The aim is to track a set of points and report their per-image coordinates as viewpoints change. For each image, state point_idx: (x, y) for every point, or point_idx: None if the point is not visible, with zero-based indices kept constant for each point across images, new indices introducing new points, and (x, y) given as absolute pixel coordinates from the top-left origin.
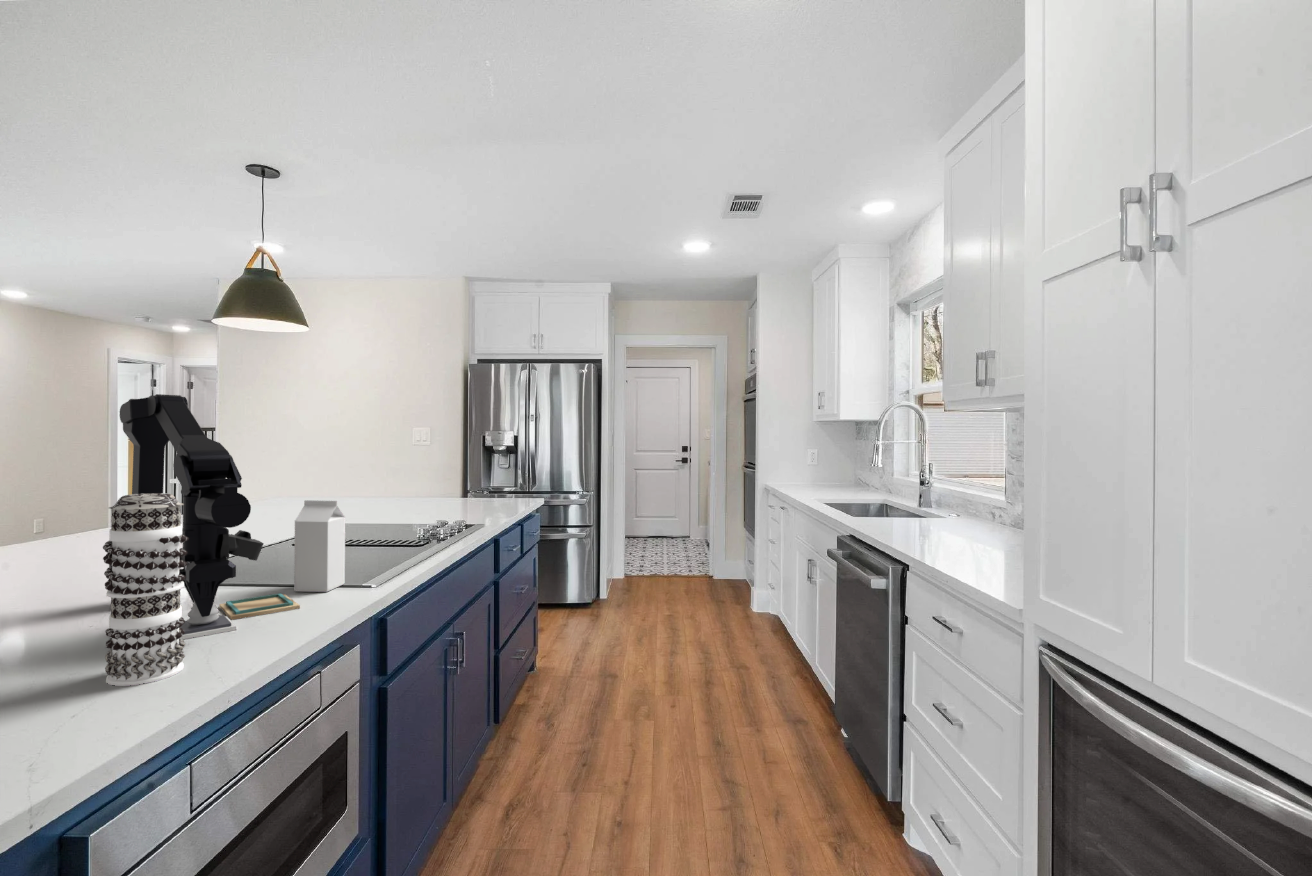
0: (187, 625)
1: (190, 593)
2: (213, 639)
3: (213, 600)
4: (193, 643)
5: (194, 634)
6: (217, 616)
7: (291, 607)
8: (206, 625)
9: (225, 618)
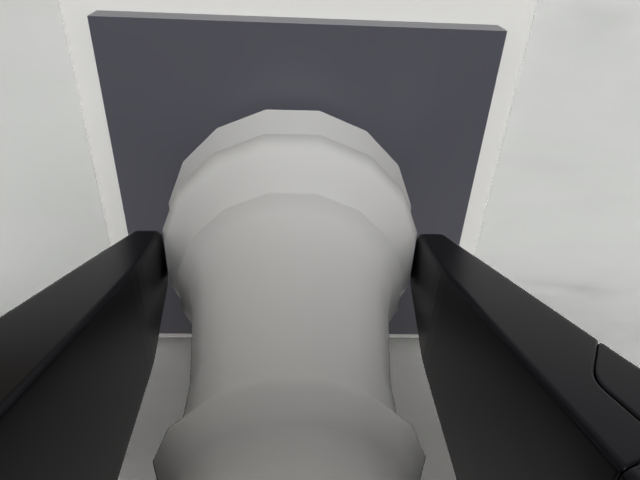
0: None
1: (116, 478)
2: (624, 172)
3: (558, 318)
4: (592, 269)
5: None
6: (339, 132)
7: None
8: None
9: (274, 34)
